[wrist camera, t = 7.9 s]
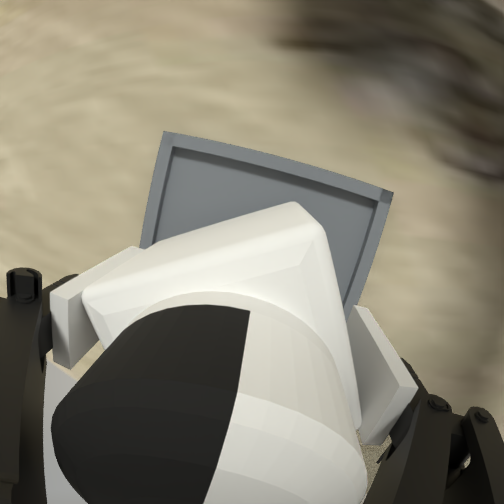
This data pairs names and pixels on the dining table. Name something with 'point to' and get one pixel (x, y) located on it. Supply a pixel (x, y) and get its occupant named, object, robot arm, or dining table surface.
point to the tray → (264, 200)
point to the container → (218, 373)
